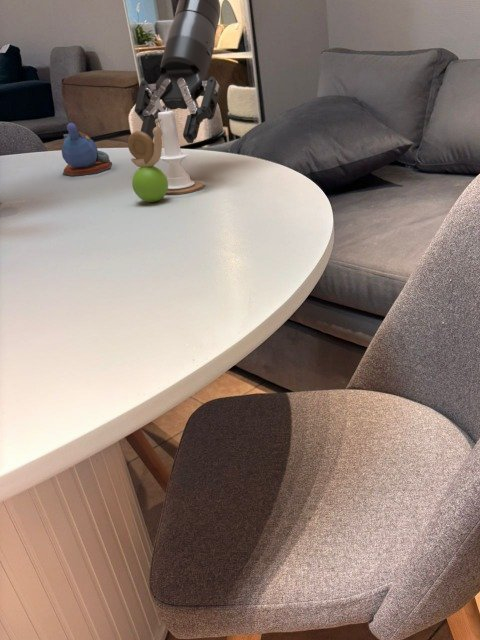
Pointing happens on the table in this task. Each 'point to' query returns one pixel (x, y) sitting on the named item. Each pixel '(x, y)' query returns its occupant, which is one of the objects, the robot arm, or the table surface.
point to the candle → (173, 152)
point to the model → (82, 154)
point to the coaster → (186, 189)
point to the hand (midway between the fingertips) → (166, 140)
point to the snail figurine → (148, 165)
